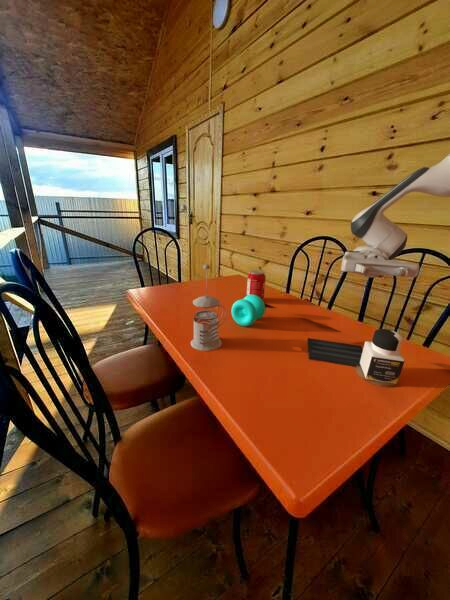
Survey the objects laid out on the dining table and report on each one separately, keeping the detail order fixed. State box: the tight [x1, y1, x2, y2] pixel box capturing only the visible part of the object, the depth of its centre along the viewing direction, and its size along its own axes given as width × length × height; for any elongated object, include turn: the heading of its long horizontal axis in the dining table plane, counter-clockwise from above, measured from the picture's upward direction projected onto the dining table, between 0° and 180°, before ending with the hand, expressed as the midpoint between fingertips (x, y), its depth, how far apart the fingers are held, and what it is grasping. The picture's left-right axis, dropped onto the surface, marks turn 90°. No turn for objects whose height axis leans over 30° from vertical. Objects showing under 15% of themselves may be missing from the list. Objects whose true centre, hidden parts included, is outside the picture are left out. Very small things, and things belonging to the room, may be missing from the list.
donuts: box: [230, 295, 266, 327], centre depth 94 cm, size 10×10×10 cm
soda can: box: [245, 269, 267, 303], centre depth 112 cm, size 8×8×15 cm
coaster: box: [354, 366, 400, 388], centre depth 67 cm, size 10×10×1 cm
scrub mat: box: [307, 337, 363, 368], centre depth 76 cm, size 16×12×1 cm
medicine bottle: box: [360, 328, 406, 385], centre depth 64 cm, size 7×7×12 cm
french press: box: [190, 263, 227, 352], centre depth 76 cm, size 10×12×25 cm
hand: (384, 272), depth 70 cm, fingers open, 8 cm apart
